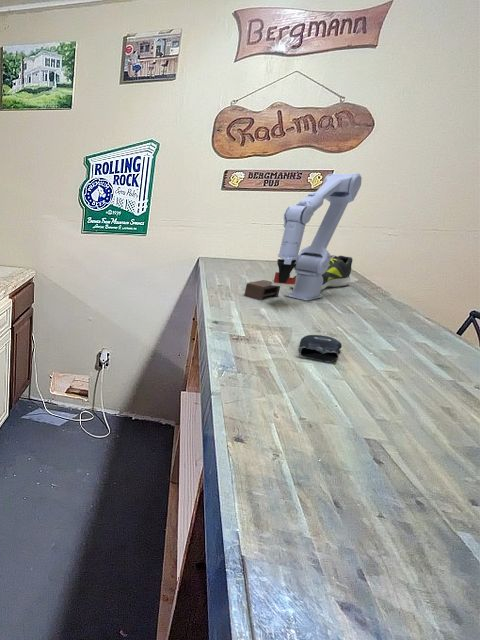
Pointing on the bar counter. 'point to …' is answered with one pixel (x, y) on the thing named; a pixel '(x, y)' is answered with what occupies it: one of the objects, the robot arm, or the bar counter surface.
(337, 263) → the running shoe
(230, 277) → the bar counter surface
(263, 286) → the box
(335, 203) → the robot arm
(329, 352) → the electronic device
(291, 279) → the shoe
